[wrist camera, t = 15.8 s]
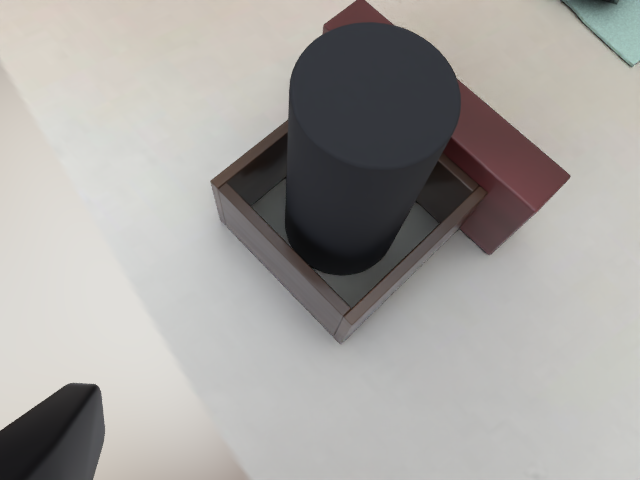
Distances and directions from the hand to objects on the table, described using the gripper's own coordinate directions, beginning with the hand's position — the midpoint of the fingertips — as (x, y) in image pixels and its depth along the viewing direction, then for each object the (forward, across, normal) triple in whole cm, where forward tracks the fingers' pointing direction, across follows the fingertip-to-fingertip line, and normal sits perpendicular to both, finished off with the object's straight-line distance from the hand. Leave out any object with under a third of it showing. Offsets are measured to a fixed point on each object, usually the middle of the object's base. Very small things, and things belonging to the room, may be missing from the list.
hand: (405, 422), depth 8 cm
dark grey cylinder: (+14, 0, +3) cm, 15 cm away
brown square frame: (+14, 0, +3) cm, 15 cm away
